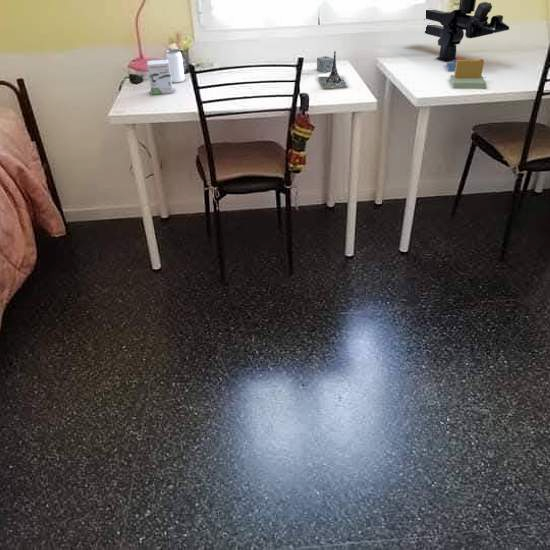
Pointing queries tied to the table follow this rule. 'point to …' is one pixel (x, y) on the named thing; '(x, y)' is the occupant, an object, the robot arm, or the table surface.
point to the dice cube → (325, 63)
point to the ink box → (159, 76)
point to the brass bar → (469, 68)
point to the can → (175, 65)
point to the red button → (460, 58)
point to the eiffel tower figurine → (332, 78)
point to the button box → (451, 66)
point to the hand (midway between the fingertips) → (501, 30)
